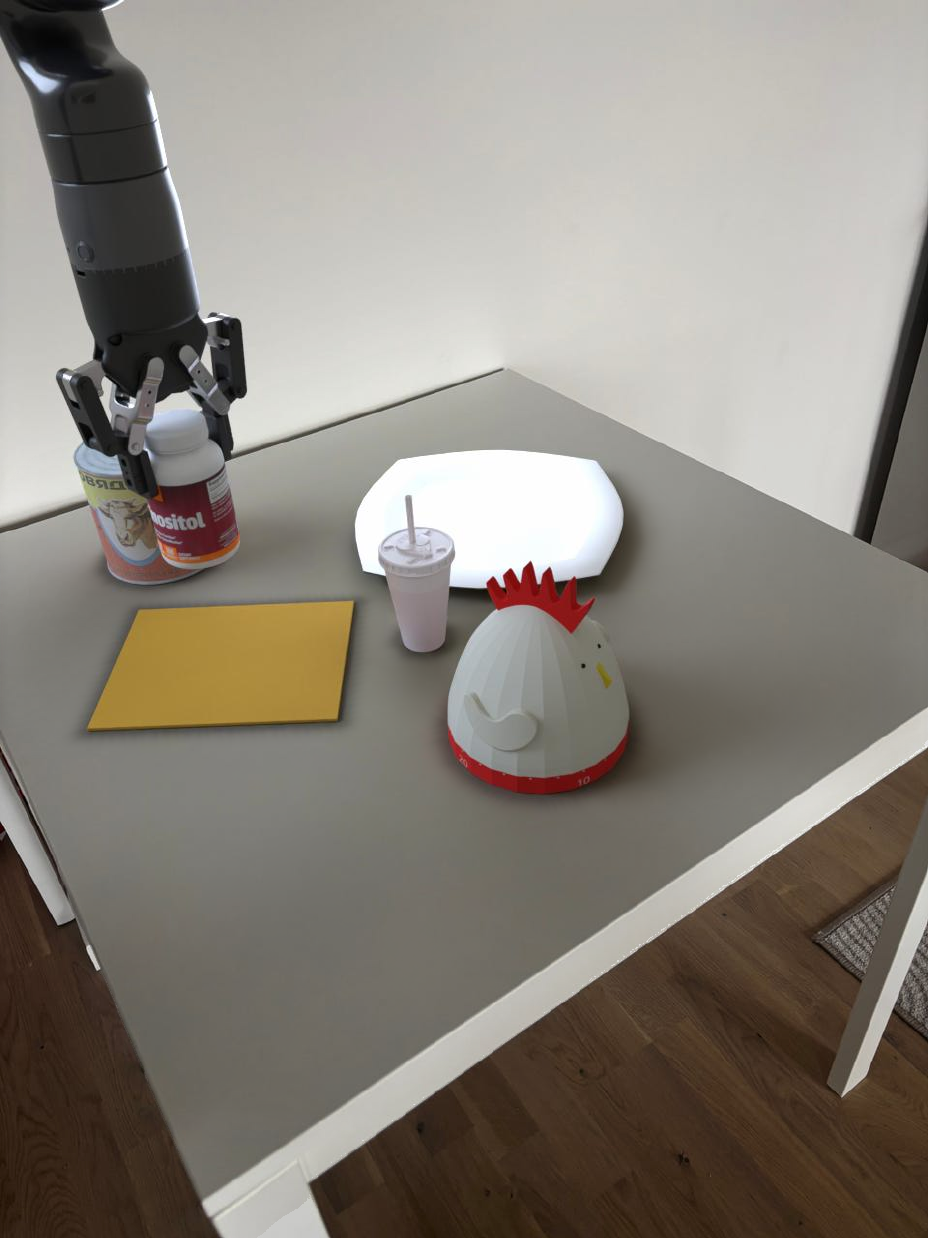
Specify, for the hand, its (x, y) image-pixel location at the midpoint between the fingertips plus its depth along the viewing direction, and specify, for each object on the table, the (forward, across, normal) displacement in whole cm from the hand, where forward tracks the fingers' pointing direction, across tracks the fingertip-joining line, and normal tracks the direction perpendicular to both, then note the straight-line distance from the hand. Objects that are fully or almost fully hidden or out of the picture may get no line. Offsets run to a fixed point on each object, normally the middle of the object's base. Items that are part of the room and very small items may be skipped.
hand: (184, 475), depth 73 cm
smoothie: (+18, -12, +11) cm, 25 cm away
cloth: (+18, 0, 0) cm, 18 cm away
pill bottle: (+7, 0, 0) cm, 7 cm away
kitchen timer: (+18, -9, +26) cm, 33 cm away
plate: (+18, -30, +4) cm, 36 cm away
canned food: (+18, -8, -19) cm, 28 cm away
